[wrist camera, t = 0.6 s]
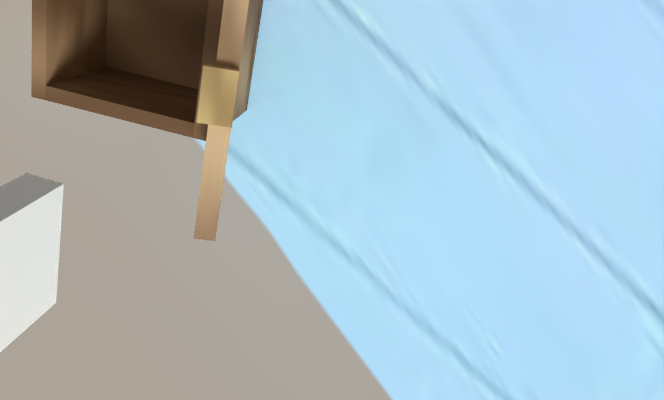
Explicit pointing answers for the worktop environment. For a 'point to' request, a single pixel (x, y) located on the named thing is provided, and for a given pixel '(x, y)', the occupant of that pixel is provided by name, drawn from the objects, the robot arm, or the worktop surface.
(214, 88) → the lid
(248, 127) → the worktop surface
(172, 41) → the chest
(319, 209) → the worktop surface
